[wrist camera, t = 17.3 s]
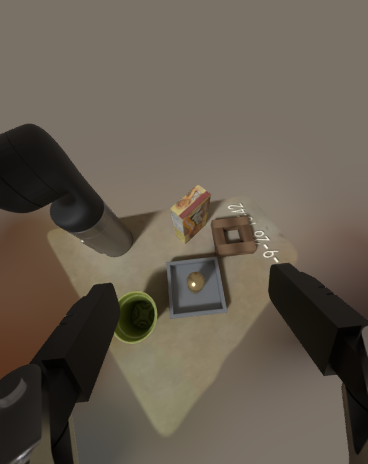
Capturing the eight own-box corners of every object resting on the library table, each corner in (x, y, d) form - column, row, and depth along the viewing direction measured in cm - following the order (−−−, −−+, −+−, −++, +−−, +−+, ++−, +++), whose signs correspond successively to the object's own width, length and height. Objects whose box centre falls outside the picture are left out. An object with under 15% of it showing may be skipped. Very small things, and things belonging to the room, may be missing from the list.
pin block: (216, 257, 46) (218, 254, 44) (210, 224, 51) (211, 220, 48) (253, 253, 46) (257, 249, 44) (244, 221, 51) (247, 216, 48)
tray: (171, 317, 41) (170, 318, 38) (168, 264, 46) (166, 262, 44) (225, 311, 41) (227, 312, 38) (215, 259, 46) (216, 256, 44)
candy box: (196, 216, 52) (197, 183, 38) (206, 224, 51) (211, 193, 37) (175, 235, 50) (168, 208, 36) (185, 245, 48) (183, 220, 34)
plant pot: (165, 294, 43) (158, 291, 35) (162, 337, 40) (154, 344, 32) (129, 293, 44) (115, 290, 36) (123, 335, 40) (105, 343, 32)
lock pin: (189, 295, 42) (187, 291, 31) (187, 281, 44) (185, 272, 33) (202, 293, 42) (206, 289, 31) (200, 279, 44) (203, 270, 33)
